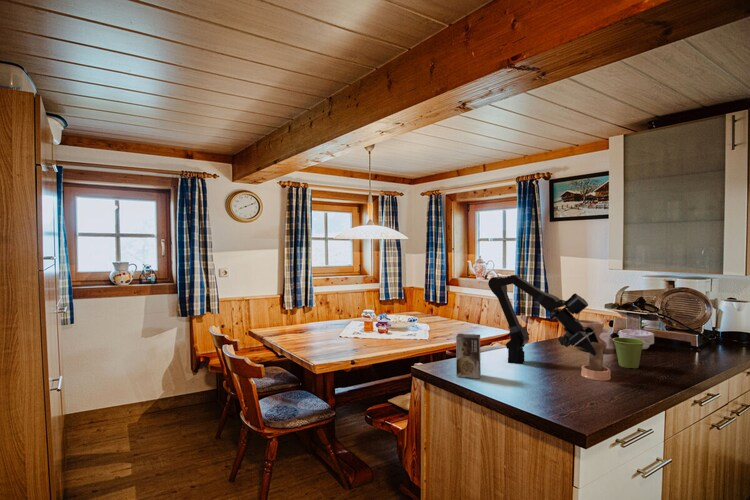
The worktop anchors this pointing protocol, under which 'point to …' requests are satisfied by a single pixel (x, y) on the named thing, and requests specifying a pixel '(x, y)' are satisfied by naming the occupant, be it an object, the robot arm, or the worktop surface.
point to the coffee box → (468, 355)
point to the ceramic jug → (598, 328)
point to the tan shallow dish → (596, 373)
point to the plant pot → (628, 351)
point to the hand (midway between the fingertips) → (598, 352)
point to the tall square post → (596, 357)
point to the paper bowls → (638, 336)
